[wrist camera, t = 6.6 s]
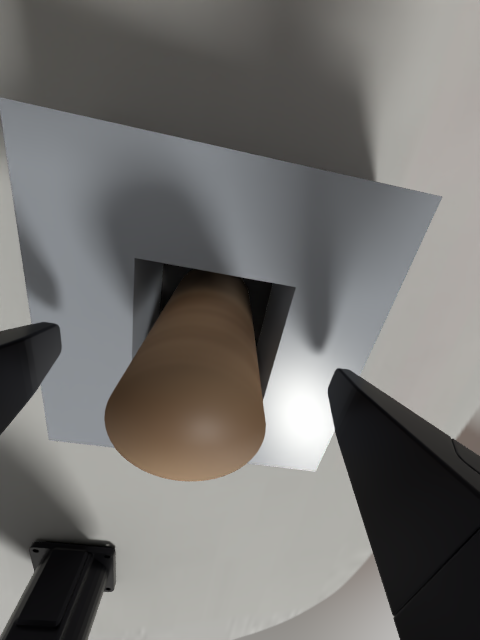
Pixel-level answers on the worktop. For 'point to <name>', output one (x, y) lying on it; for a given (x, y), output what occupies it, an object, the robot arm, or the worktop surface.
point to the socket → (200, 261)
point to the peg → (192, 386)
